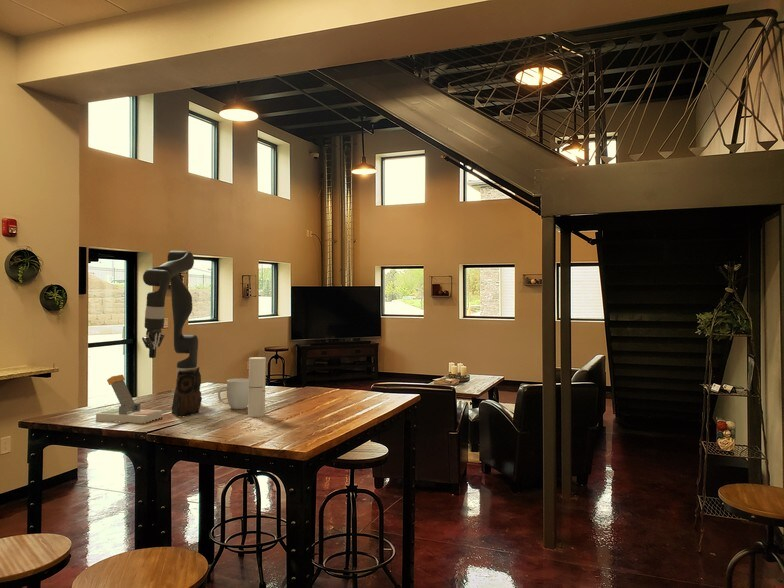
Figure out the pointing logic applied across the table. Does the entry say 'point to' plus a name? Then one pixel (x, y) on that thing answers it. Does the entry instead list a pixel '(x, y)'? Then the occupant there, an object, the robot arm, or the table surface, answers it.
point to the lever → (122, 392)
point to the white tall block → (256, 386)
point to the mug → (236, 393)
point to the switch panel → (129, 415)
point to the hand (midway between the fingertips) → (152, 357)
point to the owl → (187, 393)
